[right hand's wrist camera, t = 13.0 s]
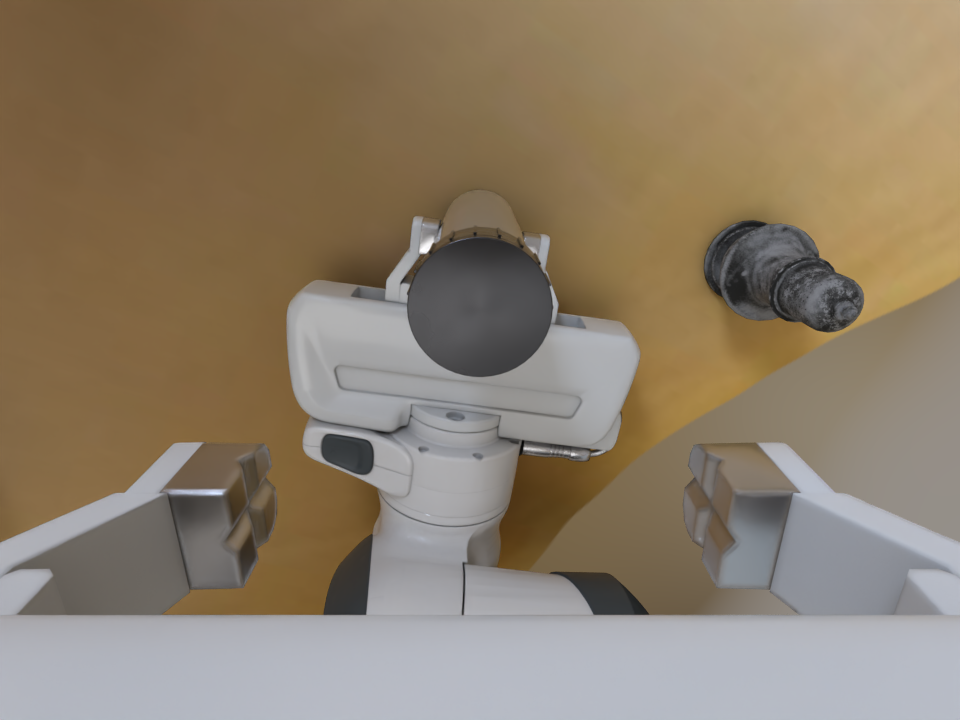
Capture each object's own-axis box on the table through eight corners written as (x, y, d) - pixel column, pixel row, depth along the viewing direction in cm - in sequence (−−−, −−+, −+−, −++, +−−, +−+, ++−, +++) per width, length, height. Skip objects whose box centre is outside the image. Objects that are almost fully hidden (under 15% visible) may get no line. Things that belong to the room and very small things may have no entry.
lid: (537, 362, 23) (543, 385, 21) (408, 350, 23) (400, 372, 21) (557, 232, 21) (566, 243, 19) (416, 218, 21) (408, 227, 19)
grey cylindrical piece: (511, 266, 38) (536, 374, 21) (440, 259, 38) (409, 362, 21) (520, 193, 37) (555, 247, 20) (446, 185, 36) (417, 232, 19)
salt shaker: (809, 248, 38) (948, 297, 26) (746, 320, 39) (852, 395, 28) (741, 197, 36) (857, 226, 25) (680, 274, 38) (763, 333, 27)
